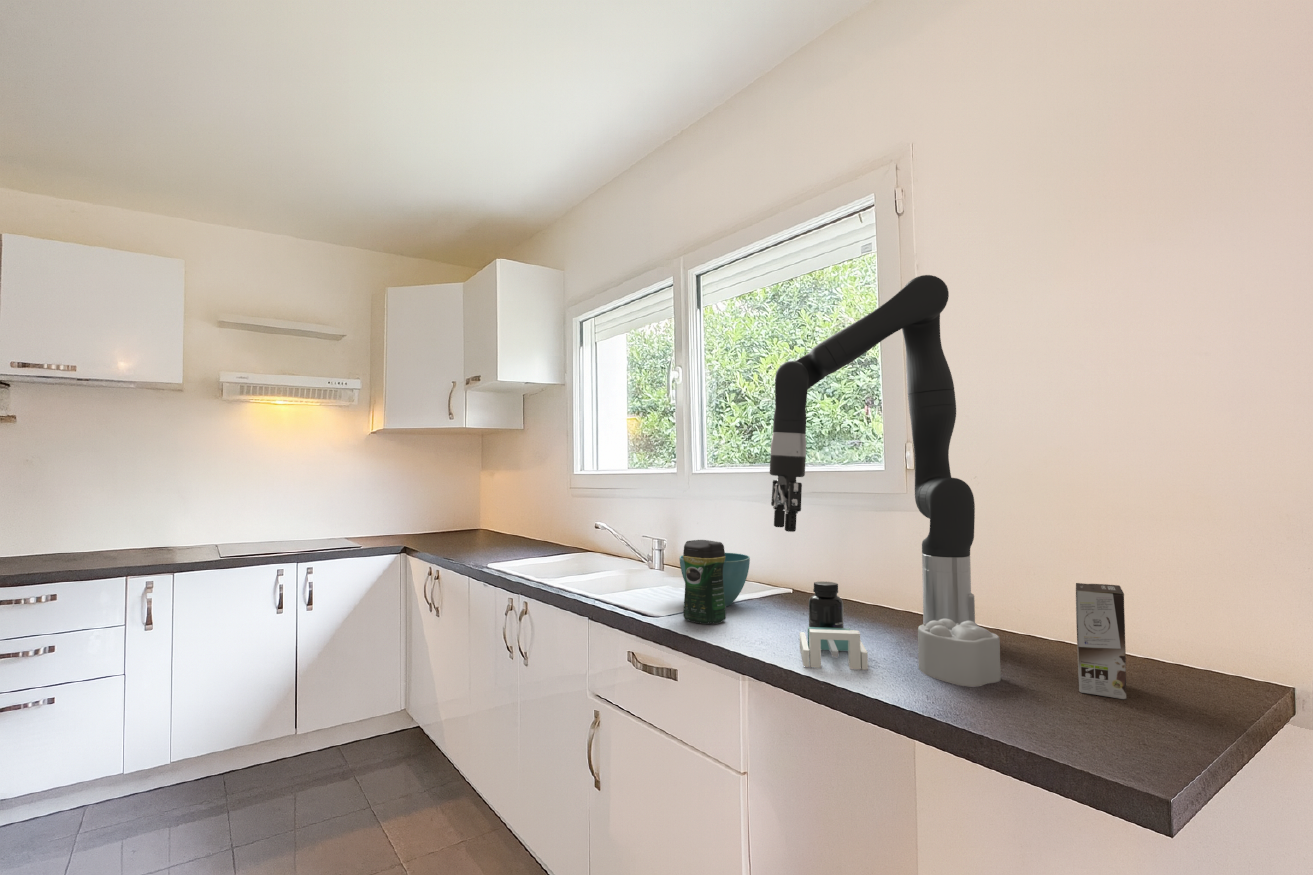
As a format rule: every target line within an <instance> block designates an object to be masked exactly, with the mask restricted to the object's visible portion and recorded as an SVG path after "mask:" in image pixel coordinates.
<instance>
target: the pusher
mask: <svg viewBox="0 0 1313 875" xmlns="http://www.w3.org/2000/svg"><path fill="white" fill-rule="evenodd" d="M809 629H826V630H851V628H849V627H847V628H845V627H843V628H821V627H809V626H808V627H807V643H808V647H809ZM821 651H829V652H830V655H831V657H832V658H839V651H842V652H843V651H845V652H846V651H847V652H848V640H824V639H821Z"/></svg>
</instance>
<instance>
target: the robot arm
mask: <svg viewBox="0 0 1313 875" xmlns="http://www.w3.org/2000/svg"><path fill="white" fill-rule="evenodd" d="M948 302H949V287H948V285H947V284H946V282H945V281H944V280H942V278H940V277H938V276H935V275H930V274H923V275H919V276H915V277H914V278H912V279H911V280H910V281H908V282H907V283H906V285H904V286H903V288H902V289H900V291H898V292H897V293H895V295H894V296H892V297H891V298H890V299H889V300H888V301H885V302H884V303H883V304H882V305H880V306H879V307H878V308H876V309H874V310H873V311H871V312H869V313H868V314H867V315H865V316H863V317H862V318H860V319H859V320H856V321H855V322H853V323H852V324H850V325H848V326H845V328H843V329H841V330H839V331H837V332H836V333H834V334H832V335H830V336H829V337H827V338H826V339H824V340H823V341H821V342H820V343H818V344H817V345H815V346H814V347H813V348H812V349H811V350H810V351H809V352H808V353H806V354H804V355H803V356H801V357H799V358H798V359H796V360H789V361H786V362H783V363H782V364H780V366H778V368H777V370H776V371H775V376H774V378H775V379H774V380H775V381H774V400H775V404H774V405H775V407H774V414H773V424H772V425H773V426H772V437H771V444H770V458H769V459H770V460H769V474H770V476H776V477H777V479H772V490H771V503H770V504H771V507H772V508H773V510H774V513H773V514H774V515H773V526H774V527H775V528H784V531H786V532H788V533H789V532H790V533H794V532H796V530H797V514H798V513H799V512H801V511H802V488H803V484H802V482H797V478H804V477H805V476H806V475H805V474H806V458H807V457H806V456H807V440H806V439H807V438H806V436H807V435H806V431H807V408H806V406H807V400H808V398H807V397H808V391H809V389H810V388H812V387H813V386H815V385H816V384H817V383H819V382H820V381H822V380H823V379H825V378H826V377H827V376H830V375H831V374H834V373H835V372H837V371H839V370H840V369H843V368H844V367H845V366H847V365H849V364H851V363H852V362H854V361H855V360H857V359H859V358H860V357H862V356H863V355H864V354H865V353H867V352H868V351H869V350H871V349H873V348H874V347H876V346H877V345H878V344H880V343H881V342H882V341H884V340H886V339H887V338H889V337H890V336H891V335H893V334H895V333H897V332H899V331H901V330H902V336H903V340H904V346H905V347H904V348H905V370H906V371H905V374H906V390H907V400H908V409H909V410H908V412H909V418H910V426H911V436H912V438H911V439H912V443H913V453H914V500H915V504H916V507H917V509H918V511H919V512H920V514H922V516H924V517H925V518H928V519H929V530H928V531H929V532H928V535H927V536H926V537H925V538H924V539H923V540H922V542H921V560H922V561H921V565H922V566H921V568H922V618H923V621H922V622H923V623H922V624H924V623H925V624H927V623H928V622H930V621H933V620H936V621H939V620H940V619H950V620H952V621H953V622H954V623H955V624H957V623H958V624H961V623H962V622H964V621H973V622H975V623H976V610H975V608H976V607H975V606H976V605H975V601H976V600H975V594H973V593H972V577H971V570H972V569H971V547H972V545H973V543H974V539H975V519H976V517H975V515H976V514H975V512H976V508H975V507H976V505H975V496H974V493H973V490H972V489H971V486H970V485H969V484H968V483H967V482H966V481H964V480H962V479H960V478H957V477H952V474H951V468H950V466H951V465H950V459H949V458H950V456H949V452H950V451H949V449H950V445H951V444H950V443H951V441H952V440H951V439H952V436H953V433H954V428H955V424H956V419H957V402H956V392H955V385H954V384H955V383H954V380H953V379H954V378H953V376H952V372H951V369H950V366H949V364H948V361H947V358H946V356H945V354H944V350H943V347H942V346H943V345H942V341H941V340H942V339H941V314H942V312H943V311H944V309H945V308H946V306H947V304H948ZM798 515H799V514H798Z"/></svg>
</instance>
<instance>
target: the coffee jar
mask: <svg viewBox="0 0 1313 875" xmlns="http://www.w3.org/2000/svg"><path fill="white" fill-rule="evenodd" d="M725 553H726V552H725V545H724V543H723V542H721V541H714V540H708V539H694V540H687V541H686V542H685V543H684V545H683V553H682V555H683V559H684V563H685V581H684V600H683V618H684V620H686V621H689V622H691V623H697V624H703V625H706V624H708V625H709V624H714V625H717V624H720V623H722V622H723V621H726V618H727V617H726V616H727V613H726V611H727V610H726V607H725V598H724V585H723V565H724V561H725Z"/></svg>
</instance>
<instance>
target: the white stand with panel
mask: <svg viewBox="0 0 1313 875" xmlns="http://www.w3.org/2000/svg"><path fill="white" fill-rule="evenodd" d="M821 639H824V640H848V651H847V653H848V655H847V660H848V664H847V665H848V668H849V670H860V671H861V670H862V671H868V670H869V662H868V660H869V659H868V657H869V656H868V655H869V652H868V651H867V649H866V647H865V645H864V643H863V642H862V640H861V632H860V631H859V630H851V629H850V630H826V629H809V647H808V638H807V637H806V632H802V631H799V651H800V654H801V660H802V665H803V666H802V667H804V666H805V667H804V668H811V667H815V668H814V669H821V668H822V655H821V654H822V650H821Z"/></svg>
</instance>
